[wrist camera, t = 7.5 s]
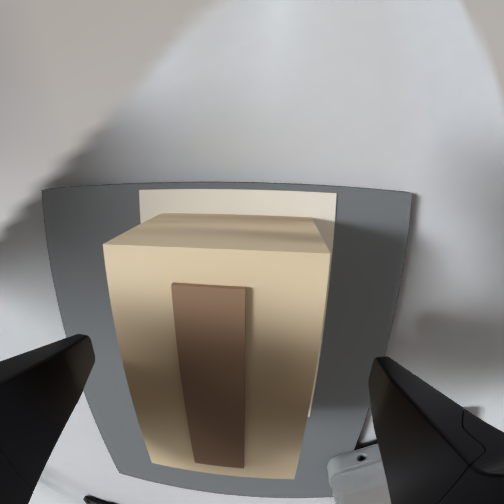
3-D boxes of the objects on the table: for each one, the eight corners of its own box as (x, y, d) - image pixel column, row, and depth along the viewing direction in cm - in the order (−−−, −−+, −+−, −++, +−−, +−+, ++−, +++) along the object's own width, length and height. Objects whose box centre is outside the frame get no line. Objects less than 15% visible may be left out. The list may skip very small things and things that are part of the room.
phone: (348, 539, 18) (349, 550, 16) (322, 457, 13) (325, 475, 12) (435, 511, 17) (439, 521, 16) (465, 405, 13) (475, 420, 11)
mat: (333, 490, 15) (334, 497, 15) (121, 468, 16) (119, 473, 16) (406, 192, 10) (412, 193, 10) (49, 188, 11) (41, 190, 11)
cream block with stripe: (161, 213, 11) (99, 246, 7) (311, 217, 10) (331, 255, 6) (179, 395, 13) (150, 465, 9) (292, 405, 12) (294, 482, 9)
